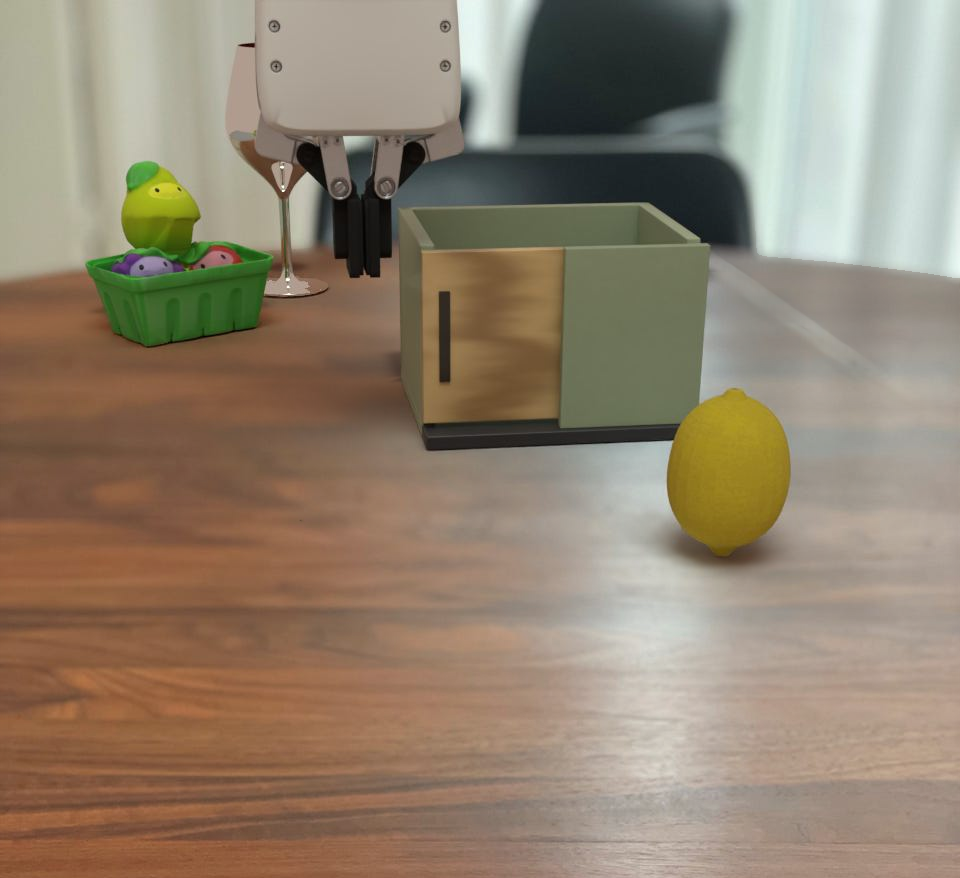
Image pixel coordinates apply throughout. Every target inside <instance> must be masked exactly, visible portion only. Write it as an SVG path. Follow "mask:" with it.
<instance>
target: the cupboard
mask: <svg viewBox="0 0 960 878" xmlns="http://www.w3.org/2000/svg"><path fill="white" fill-rule="evenodd" d="M397 216H398V218H397V221H398V260H399V261H398V271H399V272H398V273H399V275H398V276H399V277H398V278H399V330H400V331H399V332H400V335H399V336H400V380H401V383H402V386H403V387H402V388H403V390H404V392H405V394H406V397H407V400H408V402H409V405H410V409H411V411H412V414H413V416H414V419H415V422H416V424H417V427H418V430H419V432H420V435H421V437H422V440H423V442H424V445H425V448H426V450H427V451H434V450H435V451H436V450H437V451H439V450H461V449H485V448H486V449H487V448H509V447H533V446H550V445H551V446H552V445H554V446H555V445H576V444H577V445H579V444H601V443H603V444H604V443H624V442H648V441H670V440H672V441H674V438H675V435H676V433H677V430H678V428H679V426H680V424H681V423H682V421H683V420H684V418H685V417H686V416H687V415H688V414H689V413H690V412H691V411H692V410H693V409H694V408H695V407H697V406H698V405H699V404H700V396H701V395H700V394H701V383H702V381H701V380H702V369H703V353H704V340H705V339H704V338H705V326H706V314H707V298H708V286H709V285H708V283H709V271H710V258H711V245H710V244H709V243H707V242H703V243H702V242H701V237H699V236H698V235H696V234H694V233H693V232H691V231H690V230H689V229H687V228H686V227H685V226H683V225H682V224H681V223H679V222H677V221H676V220H674V219H673V218H671V217H670V216H669V215H667V214H666V213H664V212H663V211H661V210H660V209H659V208H658V207H656V206H654V205H653V204H651V203H650V202H646V201H645V202H608V203H607V202H605V203H604V202H601V203H597V202H596V203H595V202H594V203H555V204H554V203H553V204H552V203H551V204H549V203H547V204H509V205H508V204H505V205H502V204H501V205H499V204H498V205H454V206H453V205H452V206H451V205H449V206H408V207H405V206H402V207H401V206H399V207H398V208H397ZM532 247H563V248H564V249H563V283H562V317H561V350H560V384H559V417H558V418H549V419H524V420H499V421H474V422H450V423H424V422H423V412H422V323H421V250H451V249H492V248H532Z"/></svg>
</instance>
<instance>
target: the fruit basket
mask: <svg viewBox="0 0 960 878" xmlns="http://www.w3.org/2000/svg"><path fill="white" fill-rule="evenodd" d="M125 183H126V194H125V199H124V201H123V203H122V207H121V213H120V214H121V215H120V220H121V227H122V232H123V234H124V237H125V239H126V241H127V242H128V244H130V245H131V246H132V247H133V249H132V248H130V249H129V250H127V251H126V252H125V253H121V254H116V255H109V256H105V257H99V258H93V259H90V260H87V261H85V263H84V266H85V269H86V270H87V272H88V274H89V277H90V278H92V280H93V282H94V285H95V288H96V290H97V293H98V296H99V299H100V301H101V304H102V306H103V309H104V311H105V314H106V317H107V319H108V321H109V324H110V326H111V327H110V328H111V329H112V331H113V333H114V334H115V333H116V335H120V336H122V337H123V338H125V339H128V340H130V341H133V342H134V343H138V342H139V343H138V344H141V345H143V346H144V347H147V346H149V347H154V346H159V345H160V344H161V345H165V344H164V343H166V344H168V342H169V343H171V342H170V341H172V343H174V342H182V341H188V340H193V339H197V338H201V337H209V336H214V335H219V334H225V333H229V332H232V331H240V330H246V329H252V328H256V327H258V323H259V319H260V315H261V309H262V305H263V301H264V297H265V296H264V291H265V286H266V282H267V278H269V277H268V276H269V272H270V271H271V270H272V266H273V262H274V258H275V257H274V255H272V254H270V253H266V252H263V251H261V250H257V249H254V248H250V247H246V246H243V245H241V244H238V243H234V242H229V241H223V240H221V241H220V240H213V241H203V240H201V241H196V240H195V241H193V232H194V225H195V224H196V223H197V222H199V220H200V219H201V218H202V215H201V212H200V211H201V210H200V209H199V206H198V203H197V202H196V200H195V199H194V198H193V196H192V194H191V193H190V192H189V191H188V190H187V189H186V188H185V187H183V185H181V183H179V182H178V180H177V179H176V177H175V175H174V174H173V173H172V172H171V171H170V170H168V169H166V168H165V167H162V166H160V165H159V164H158V163H157V162H155V161H151V160H144V161H140V162H138V161H137V162H134V163H133V164H132V165H131V166H130V167H129V169H128V171H127V172H126V175H125Z"/></svg>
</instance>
